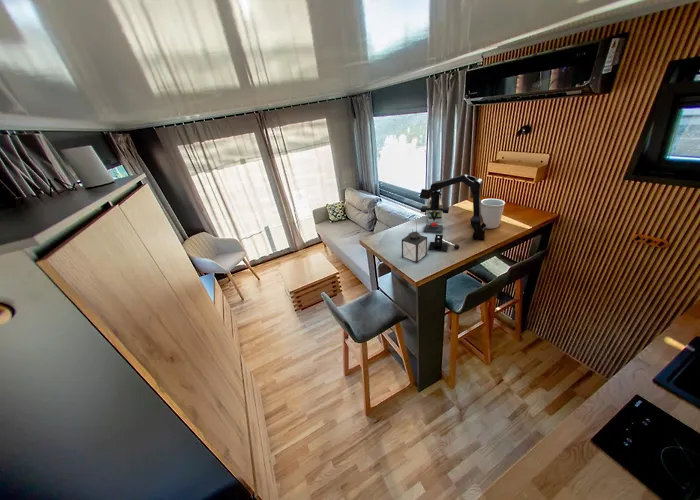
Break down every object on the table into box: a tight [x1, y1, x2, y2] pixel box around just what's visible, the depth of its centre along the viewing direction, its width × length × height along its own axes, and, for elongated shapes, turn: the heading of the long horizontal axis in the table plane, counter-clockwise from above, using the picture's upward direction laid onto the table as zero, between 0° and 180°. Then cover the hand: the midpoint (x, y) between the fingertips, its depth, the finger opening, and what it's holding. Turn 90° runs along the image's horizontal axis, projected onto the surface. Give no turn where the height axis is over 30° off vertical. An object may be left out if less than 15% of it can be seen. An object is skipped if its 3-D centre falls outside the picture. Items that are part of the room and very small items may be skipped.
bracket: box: [428, 234, 449, 253], centre depth 163 cm, size 11×10×8 cm
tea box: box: [426, 198, 444, 224], centre depth 199 cm, size 15×10×15 cm
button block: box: [423, 223, 444, 234], centre depth 185 cm, size 12×10×4 cm
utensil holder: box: [481, 198, 506, 229], centre depth 179 cm, size 15×15×18 cm
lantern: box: [401, 214, 428, 264], centre depth 152 cm, size 11×11×28 cm
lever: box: [437, 236, 460, 250], centre depth 160 cm, size 15×3×3 cm, turn 68°
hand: (434, 220), depth 182 cm, fingers closed
